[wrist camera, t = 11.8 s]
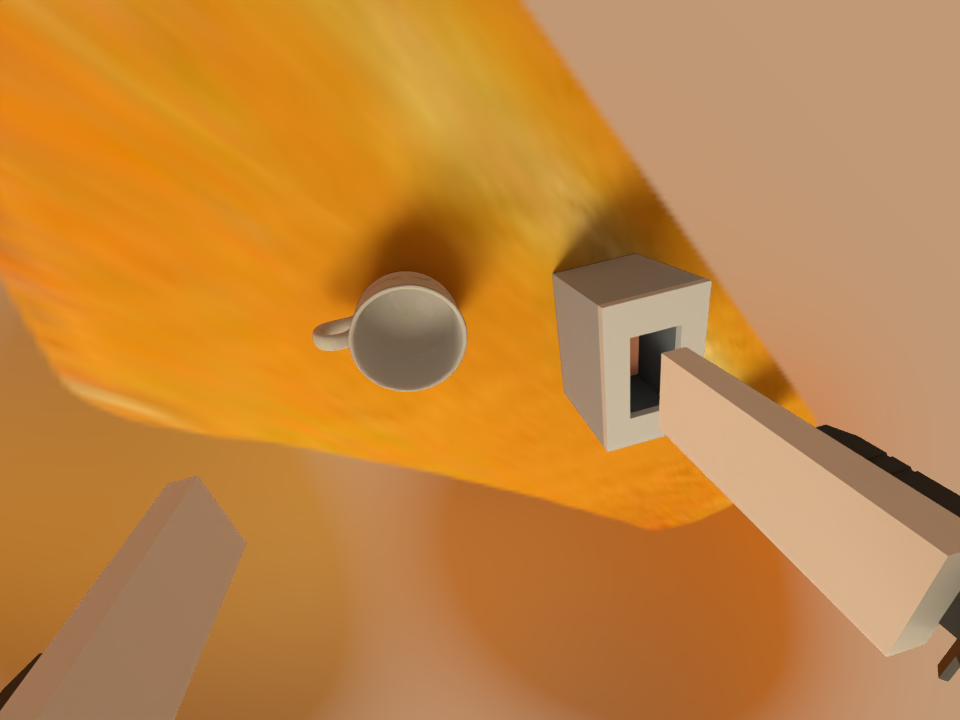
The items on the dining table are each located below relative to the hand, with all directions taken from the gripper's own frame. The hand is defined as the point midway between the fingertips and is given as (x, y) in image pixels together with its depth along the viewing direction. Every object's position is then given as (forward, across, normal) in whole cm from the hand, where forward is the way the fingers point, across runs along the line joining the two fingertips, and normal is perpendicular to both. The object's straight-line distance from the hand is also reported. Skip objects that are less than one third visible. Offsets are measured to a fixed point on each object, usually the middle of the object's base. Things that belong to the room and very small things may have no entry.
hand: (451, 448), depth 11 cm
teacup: (+32, -4, -6) cm, 33 cm away
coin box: (+32, +19, -14) cm, 40 cm away
